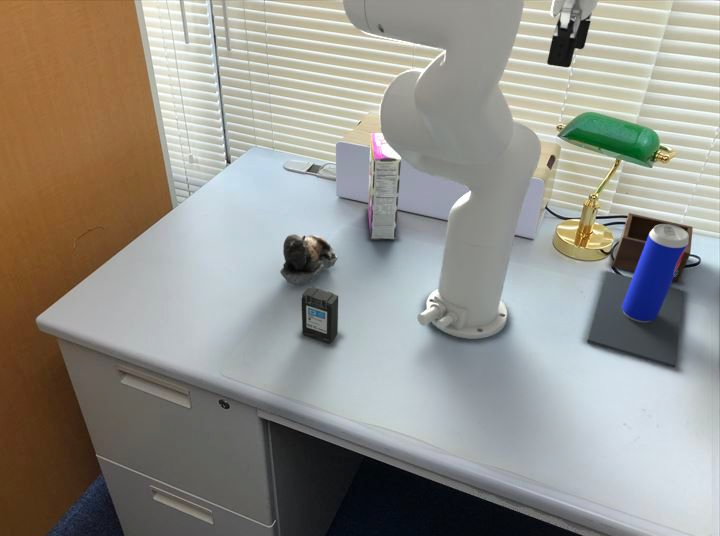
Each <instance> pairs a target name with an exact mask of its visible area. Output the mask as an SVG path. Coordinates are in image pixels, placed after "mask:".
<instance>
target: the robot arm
mask: <svg viewBox="0 0 720 536" xmlns="http://www.w3.org/2000/svg"><path fill="white" fill-rule="evenodd" d="M524 2H525V0H342V4H343V9H344V13H345V15H346V17H347V19H348V20H349V22H350V24H352V25H353V27H354V28H356V29H357V30H358V31H360V32H361V33H364V34H366V35H368V36H369V35H370V36H373V37H377V38H382V39H387V40H393V41H398V42H401V43H402V42H403V43H408V44H412V45H416V46H422V47H426V48H432V49H437V50H441V51H443V52H441V53H440V54H439V55H438V56H436V58H435V59H433V60H432V61H431V62H430V63H429V64H428V65H427V66H426V67H425V68H424V69H408V70H405V71H403V72H400V73H399V74H397V75H396V76H395V77H394V78H393V79H392V80H391V81H390V82H389V84H388V85H387V87H386V89H385V90H384V93H383V95H382V98H381V101H380V106H379V116H378V117H379V126H380V131H381V132H380V133H382V135H383V137H384V139H385V141H386V142H387V144H388V145H389V146H390V147H391V148H392V149H393V150H394V151H395V152H396V153H397V154H398V155H399V156H401V159H403V160H404V161H405V162H406V163H407V164H408V165H409V166H410V167H412V168H413V169H415V170H417V171H418V172H420V173H423V174H426V175H429V176H432V177H436V178H439V179H442V180H445V181H449V182H452V183H456V184H458V185H461V186H462V187H466V188H468V190H469V192H466V193H465V194H464V195H463V196H461V197H460V198H459V199H458V200H457V201H456V202H455V203H454V204H453V205H452V207H451V209H450V211H449V214H448V218H447V225H446V233H445V240H444V247H443V253H442V260H441V267H440V275H439V281H438V288H437V289H435V290H434V291H432V293H431V294H429V296H428V297H427V299H426V302H425V309H424V310H423V311H422V312H421V313H419V314H418V315H417V316H416V319H417V322H418V323H419V325H421V326H423V327H425V326H427V325H429V324H432V325H433V326H434V327H436V328H437V329H439V330H440V331H442V332H443V333H445V334H448V335H451V336H453V337H457V338H462V339H470V340H471V339H472V340H475V339H484V338H488V337H491V336H494V335H496V334H498V333H500V331H502V329H503V328H504V327H505V325H506V323H507V319H508V309H507V306H506V305H505V303H504V301H503V300H502V295H503V290H504V285H505V282H506V276H507V272H508V267H509V264H510V260H511V259H510V258H511V254H512V250H513V246H514V240H515V235H516V231H517V226H518V223H519V219H520V214H521V211H522V207H523V204H524V201H525V198H526V195H527V193H528V190H529V187H530V185H531V183H532V180H533V178H534V175H535V173H536V171H537V168H538V165H539V162H540V159H541V155H542V154H541V153H542V144H541V140H540V138H539V136H538V135H537V133H536V132H535V131H534V130H533V129H531V128H530V127H528V126H527V125H524V124H522V123H521V122H520V123H519V122H517V121H514V119H513V118H514V117H513V115H512V111H511V108H510V106H509V104H508V102H507V100H506V98H505V96H504V94H503V92H502V89H501V87H500V85H499V83H500V81H501V79H502V77H503V75H504V72H505V70H506V68H507V65H508V62H509V59H510V56H511V53H512V51H513V48H514V46H515V45H514V44H515V42H516V38H517V35H518V32H519V28H520V23H521V20H522V16H523V10H524V6H525V5H524ZM598 2H599V0H552V4H551V7H550V13H549V14H550V16H551V17H552V18H556V17H557V16H558V15H559V17H558V19H557V23H556V25H555V28H554V32H553V35H552V36H551V37H552V38H551V43H550V47H549V52H548V56H547V62H546V64H547V65H548V66H554V67H560V68H566V69H567V68H568V69H569V68H570V67H571V65H572V63H573V58H574V53H575V49H576V50H583V49H584V48H585V46H586V41H587V38H588V33H589V30H590V27H591V26H590V25H591V22H592V21H591V18H592V13H593V11H595V9H596V7H597V4H598Z"/></svg>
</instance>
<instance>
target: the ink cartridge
mask: <svg viewBox="0 0 720 536" xmlns="http://www.w3.org/2000/svg"><path fill="white" fill-rule="evenodd" d="M300 301H301V328H302V329H301V333H302V335H303V336H305V337H308V338H311V339H314V340H316V341H319V342H322V343H324V344H329V345H330V344H332V343H333V342H334V340H335V339H336V337H337V336H338V335H339V333H338V332H339V295H338V294H334V292H331V291H330V290H329V291H327V290H324V289H320V288H319V287H315V286H312V287H311V286H308V287H307V288H306V289H305V291H304V292H303V293H302V294H301V298H300Z"/></svg>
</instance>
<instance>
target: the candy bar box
mask: <svg viewBox="0 0 720 536" xmlns="http://www.w3.org/2000/svg"><path fill="white" fill-rule="evenodd" d="M369 143H370V145H369V170H368V172H369V173H368V197H367V198H368V199H367V200H368V202H367V214H368V224H369V226H368V227H369V233H370V234H369V237H370V240H375V241H376V240H396V237H397V236H396V235H397V223H398V222H397V220H398V207H399V193H400V183H401V181H400V178H401V165H402V157H401V156H399V155H398V154H397V153H396V152H395V151H394V150H393V149H392V148H391V147H390V146H389V145H388V144H387V142H386V141H385V139H384V137H383V135H382V132H372V133H370V142H369Z"/></svg>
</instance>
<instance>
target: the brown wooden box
mask: <svg viewBox="0 0 720 536" xmlns="http://www.w3.org/2000/svg"><path fill="white" fill-rule="evenodd" d="M659 224H669V225H674V226H677V227H680V228H682V229H684V230H685V231H686V232H687V233H688V234H689V241H688V245H687V248H686V250H685V252H684V255H683V257H682V259H681V262H680V264H679V266H678V269H677V270H678V271H679V272H678V275H677V277H674V278H673V280H672V283H676V284H678V283H679V281H680V278H681V276H682V274H683V271H684V269H685V267H686V264H687V262H688V260H689V258H690V255H691V250H692V240H693V230H694V226H690V225H686V224H681V223H676V222H672V221H668V220H667V221H666V220H663V219H658V218H653V217H649V216H646V215H645V216H644V215H639V214H637V213H632V212H631V213H630V212H629V213H628V215H627V217H626V220H625V222H624V226H623V229H622V231H621V235H620V238H619V241H618V245H617V248H616V252H615V256H614V259H613V262H612V263H613V264H612V267H613V268H615V269H619V270H623V271H627V272H631V273H635V270H636V268H637V265H638V262H639V260H640V257H641V254H642V252H643V249H644V246H645V244H646V241H647V238H648V236H649V233H650V232H651V230H652V229H653V228H654V227H655V226H656V225H659Z"/></svg>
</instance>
